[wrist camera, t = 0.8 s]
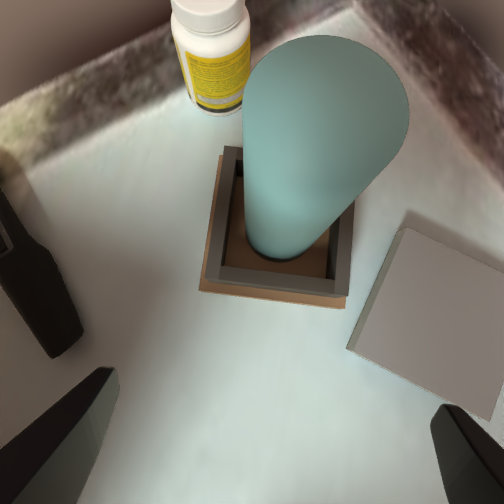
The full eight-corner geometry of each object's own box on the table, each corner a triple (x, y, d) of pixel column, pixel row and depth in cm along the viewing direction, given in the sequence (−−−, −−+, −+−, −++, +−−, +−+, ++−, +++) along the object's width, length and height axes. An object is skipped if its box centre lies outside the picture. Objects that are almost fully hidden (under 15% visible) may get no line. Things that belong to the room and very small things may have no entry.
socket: (338, 309, 22) (358, 307, 18) (201, 291, 22) (192, 286, 18) (348, 180, 24) (367, 154, 20) (221, 164, 24) (216, 135, 20)
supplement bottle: (262, 95, 25) (269, -11, 17) (214, 130, 25) (197, 37, 16) (224, 53, 26) (213, -69, 18) (176, 85, 25) (141, -25, 17)
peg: (290, 276, 21) (354, 219, 8) (231, 237, 22) (208, 126, 9) (327, 219, 22) (438, 88, 9) (269, 183, 22) (300, 8, 10)
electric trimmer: (57, 367, 22) (26, 376, 19) (-49, 185, 24) (-93, 166, 21) (106, 333, 22) (84, 337, 19) (-1, 158, 24) (-38, 135, 21)
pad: (472, 414, 21) (489, 422, 20) (345, 348, 22) (353, 351, 20) (516, 290, 23) (535, 288, 21) (397, 232, 23) (407, 226, 22)
